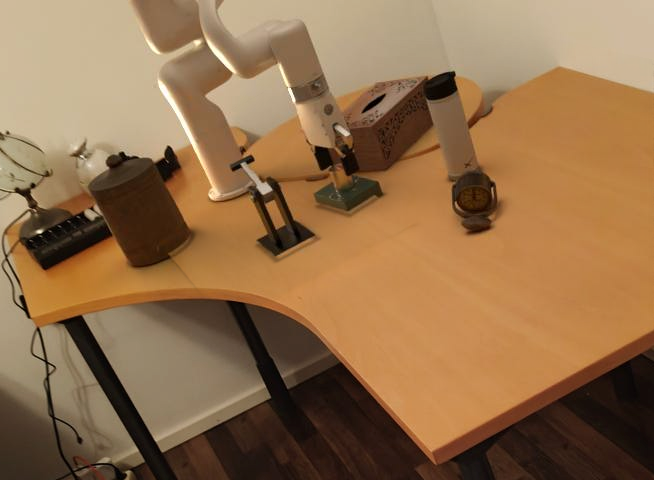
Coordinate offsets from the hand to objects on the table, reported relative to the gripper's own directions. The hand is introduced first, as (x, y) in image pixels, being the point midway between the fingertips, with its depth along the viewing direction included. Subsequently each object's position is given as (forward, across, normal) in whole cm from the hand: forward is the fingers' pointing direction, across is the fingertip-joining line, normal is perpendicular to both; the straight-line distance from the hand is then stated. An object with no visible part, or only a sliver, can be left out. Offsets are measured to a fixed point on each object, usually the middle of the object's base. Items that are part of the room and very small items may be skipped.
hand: (340, 170), depth 172 cm
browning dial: (+4, 0, 0) cm, 4 cm away
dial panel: (+7, 0, 0) cm, 7 cm away
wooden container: (+7, +32, +32) cm, 45 cm away
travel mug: (+7, -18, -17) cm, 25 cm away
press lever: (-5, +4, +16) cm, 17 cm away
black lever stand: (+7, 0, +17) cm, 18 cm away
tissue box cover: (+7, +15, -22) cm, 28 cm away
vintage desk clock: (+8, -34, -5) cm, 35 cm away
